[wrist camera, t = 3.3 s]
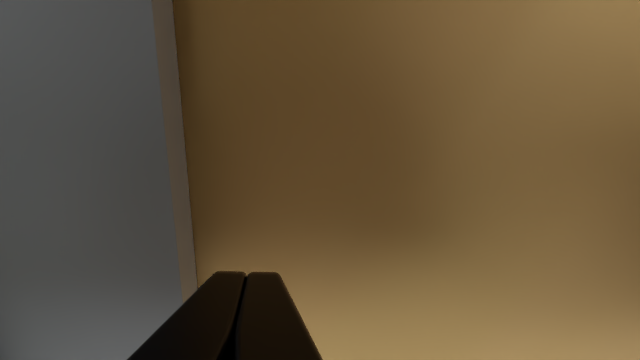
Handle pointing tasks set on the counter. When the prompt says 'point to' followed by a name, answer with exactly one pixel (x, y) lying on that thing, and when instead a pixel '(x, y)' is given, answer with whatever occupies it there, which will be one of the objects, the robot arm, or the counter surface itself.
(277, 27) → the counter surface
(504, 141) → the counter surface
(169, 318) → the robot arm
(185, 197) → the board
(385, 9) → the counter surface
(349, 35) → the counter surface
